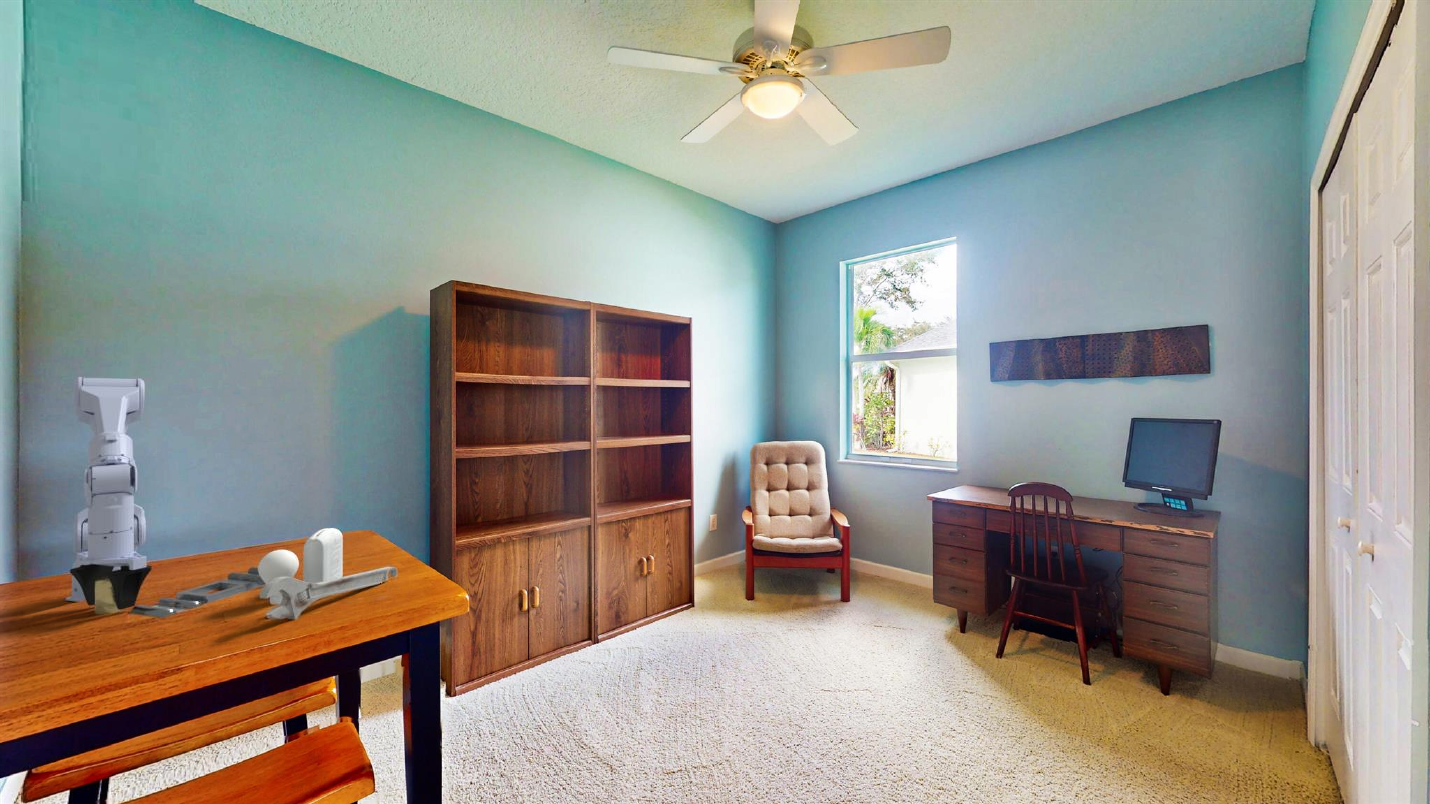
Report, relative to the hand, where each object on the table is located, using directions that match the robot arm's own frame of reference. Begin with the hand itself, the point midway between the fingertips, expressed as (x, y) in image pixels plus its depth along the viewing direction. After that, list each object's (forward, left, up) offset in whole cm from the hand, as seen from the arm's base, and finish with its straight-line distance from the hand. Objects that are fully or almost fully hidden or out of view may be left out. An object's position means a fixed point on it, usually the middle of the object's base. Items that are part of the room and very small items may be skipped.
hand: (111, 605), depth 102 cm
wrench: (+32, +17, -2) cm, 36 cm away
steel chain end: (+9, +7, -2) cm, 12 cm away
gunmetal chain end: (+9, +15, -2) cm, 17 cm away
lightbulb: (+25, +11, -2) cm, 27 cm away
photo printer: (+23, +22, -2) cm, 32 cm away
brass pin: (0, 0, -2) cm, 2 cm away
